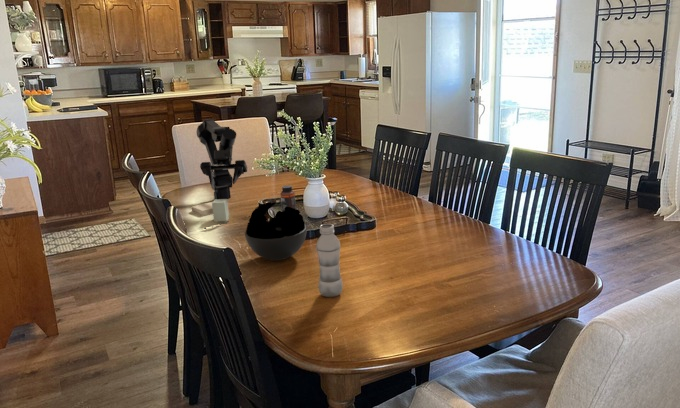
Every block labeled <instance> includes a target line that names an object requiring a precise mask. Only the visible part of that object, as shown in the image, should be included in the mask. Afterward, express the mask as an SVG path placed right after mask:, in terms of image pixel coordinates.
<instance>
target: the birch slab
mask: <svg viewBox="0 0 680 408" xmlns="http://www.w3.org/2000/svg"><path fill="white" fill-rule="evenodd" d="M212 202H213V201H211V202H205V203H200V204H196V205H193V206H191V211H193V212H192V213H194V212H196V213H198V214H200V215H199V216H201V215H206V216H208V215H207V214H210V215H212V214H211V213H213V208H212ZM196 213H195V214H196ZM198 214H197V215H198Z"/></svg>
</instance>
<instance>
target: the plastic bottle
mask: <svg viewBox="0 0 680 408" xmlns="http://www.w3.org/2000/svg"><path fill="white" fill-rule="evenodd" d="M319 234H320V235H319V238H318V239H317V241H316V245H315V249H316V251H317V258H318V264H319V265H318V267H319V278H318V291H319V293H320V294H321V296H323V297H326V298H333V297H337V296H339V295H340V294H341V293H342V291H343V286H344V285H343V279H342V276H341V269H340V252H341V242H340V240H339V239H338V237H337V236H336V235H335V226H334V224H331V223H326V224H324V223H323V224H321V225H319Z"/></svg>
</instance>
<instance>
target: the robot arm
mask: <svg viewBox="0 0 680 408" xmlns="http://www.w3.org/2000/svg"><path fill="white" fill-rule="evenodd" d="M196 136H197V138H198V139H199V142H200V143H201V144H202V145H204V146H205V148H206V151H207V155H208V158H209V161H203V162H202V161H201V163H200V166H199V168H200V170H201V172H202V174H203V175H205V176H207V177H208V180H209V183H210V187H211V188H210V189H212V190H213V198H214V200H216V199H227V200H229V199H231V197H232V196H231V191H230V190H231V188H233V185H235V184H236V182H237V180H238V179H239V178H240V177H241V176H242V175H244V173H247V172H248V165H247V163H246V160H245V159H237V160H235V161H234V163H232V161H233V148H234V147H233V146H234V145H235V141H236V139H237V132H236V131H235V130H234V129H232V128H230V126H221V125H219V124H218V122H216V121H215V119H214V118H208V119H204V120H202V122H201V123H200V124H199V125H198V126H197V129H196ZM218 142H219V145H218V147H217V145H216V143H218ZM229 170H233V176H232V175H231V174H230V171H229Z"/></svg>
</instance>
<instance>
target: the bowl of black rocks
mask: <svg viewBox="0 0 680 408" xmlns="http://www.w3.org/2000/svg"><path fill="white" fill-rule="evenodd" d="M275 204H277V202H271V201H269V202H266V203H262V204H260V205H258V207H256V208H255V209H253V210H252V212H251V214H250V218H249V220H248V222H247V226H246V230H245V231H244V236H245V240H246V242H247V244H248V246H249V248H250V249H251V250H252V251H253V252H254V253H255V254H256V255H258V256H259V257H261V258H263V259H266V260H270V261H282V260H286V259H288V258H290V257H292V256H293V255H295V254H297V252H299V250H300V249H301V248H302V246H303V245H304V243H305V240H306V238H307V235H308V234H307V230H308V228H307V225H306V222H305V220H304V216H303V214H301V211H300V210H299V209H297V208H296V209H294V208H291V207H286V208H285V210H286V211H282V210H278V211H277V212H276V214H275V216H273V217H272V218H271V220H269V221H268V217H267V216H266V213H267V212H268V211H269V210H270V209H271V208H272V207H273V206H274V205H275Z"/></svg>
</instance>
